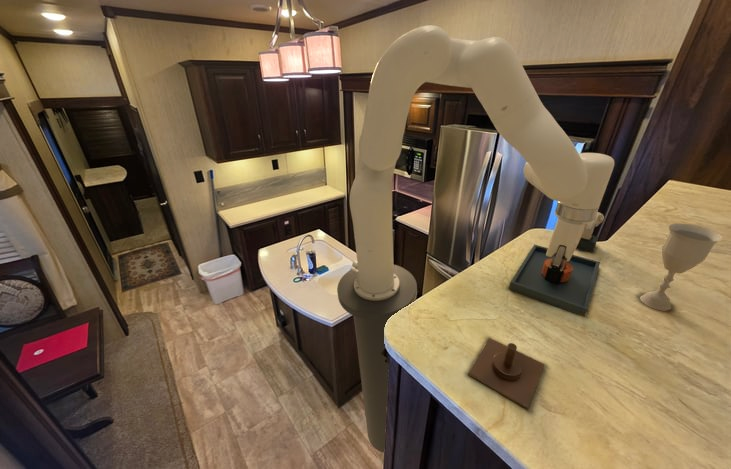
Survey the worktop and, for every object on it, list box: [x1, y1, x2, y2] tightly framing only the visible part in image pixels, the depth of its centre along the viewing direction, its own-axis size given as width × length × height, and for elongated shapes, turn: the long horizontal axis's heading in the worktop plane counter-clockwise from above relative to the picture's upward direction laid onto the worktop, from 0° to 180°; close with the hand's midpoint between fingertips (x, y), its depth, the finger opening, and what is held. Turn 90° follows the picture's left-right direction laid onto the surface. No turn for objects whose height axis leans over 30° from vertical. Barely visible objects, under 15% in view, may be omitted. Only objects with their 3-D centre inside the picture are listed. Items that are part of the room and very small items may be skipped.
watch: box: [576, 211, 605, 254], centre depth 83 cm, size 6×8×11 cm
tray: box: [508, 243, 601, 317], centre depth 73 cm, size 16×22×2 cm
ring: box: [542, 259, 573, 282], centre depth 72 cm, size 6×6×3 cm
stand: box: [467, 337, 545, 410], centre depth 51 cm, size 10×10×6 cm
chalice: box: [639, 223, 723, 312], centre depth 60 cm, size 7×7×18 cm
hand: (555, 274), depth 73 cm, fingers closed on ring, 6 cm apart
